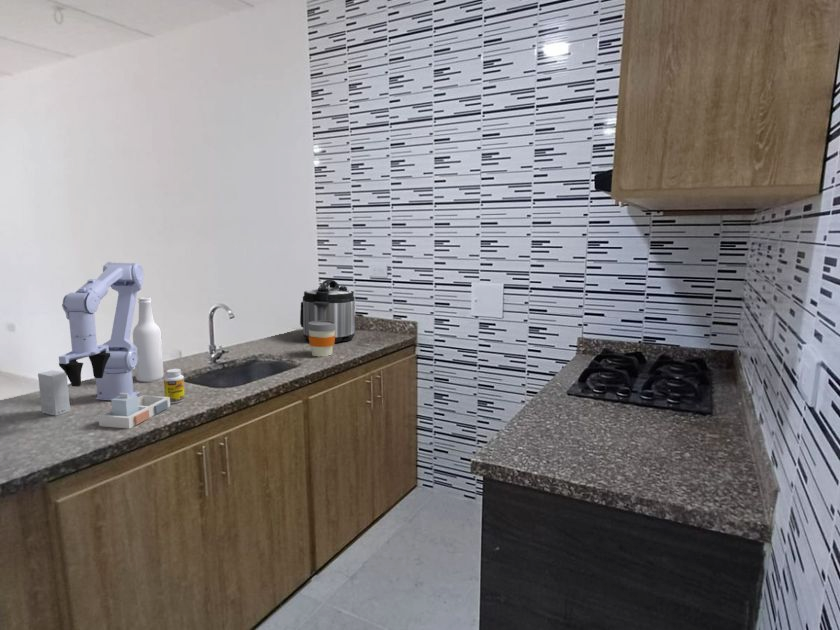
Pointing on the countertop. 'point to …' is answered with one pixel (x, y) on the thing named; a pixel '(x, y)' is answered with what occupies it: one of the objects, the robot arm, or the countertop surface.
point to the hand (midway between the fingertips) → (87, 381)
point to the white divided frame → (146, 410)
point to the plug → (125, 405)
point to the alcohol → (148, 344)
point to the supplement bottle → (174, 386)
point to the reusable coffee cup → (321, 337)
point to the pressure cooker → (329, 309)
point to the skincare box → (54, 392)
